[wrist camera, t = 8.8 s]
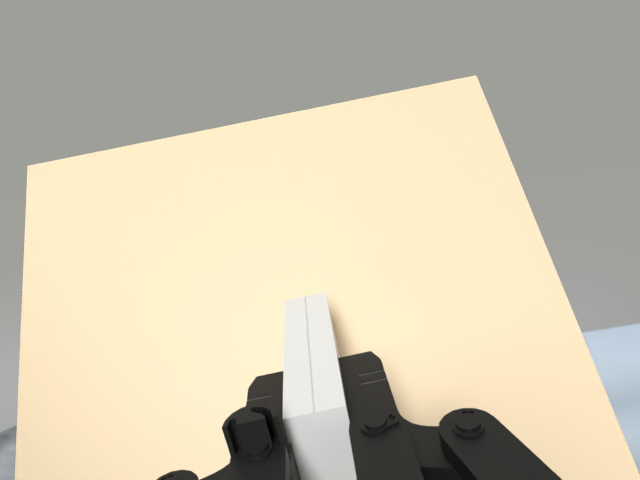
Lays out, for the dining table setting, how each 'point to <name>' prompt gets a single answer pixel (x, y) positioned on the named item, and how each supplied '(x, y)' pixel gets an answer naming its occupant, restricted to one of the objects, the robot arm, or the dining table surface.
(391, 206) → the carton flap
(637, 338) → the dining table surface
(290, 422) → the robot arm
